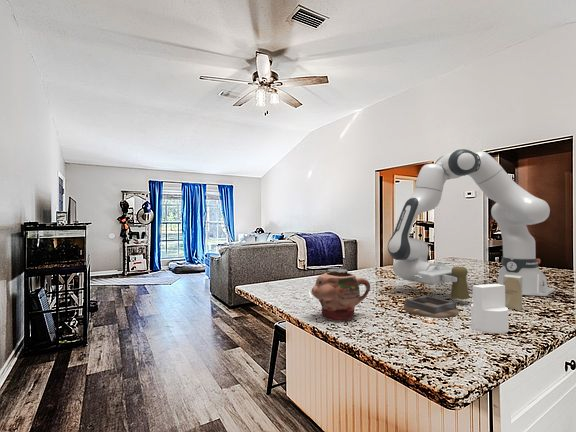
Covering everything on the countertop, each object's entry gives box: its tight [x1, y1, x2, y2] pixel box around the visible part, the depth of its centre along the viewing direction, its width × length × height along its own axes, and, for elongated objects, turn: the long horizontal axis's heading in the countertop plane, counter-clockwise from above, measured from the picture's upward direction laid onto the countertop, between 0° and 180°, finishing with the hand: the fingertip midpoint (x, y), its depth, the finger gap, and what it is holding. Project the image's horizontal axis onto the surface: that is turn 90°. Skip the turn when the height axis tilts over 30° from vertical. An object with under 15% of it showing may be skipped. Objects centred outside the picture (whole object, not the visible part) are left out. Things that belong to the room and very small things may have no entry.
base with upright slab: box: [470, 283, 510, 334], centre depth 91 cm, size 9×9×12 cm
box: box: [503, 275, 523, 311], centre depth 110 cm, size 5×4×11 cm
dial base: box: [403, 295, 460, 319], centre depth 109 cm, size 17×17×3 cm
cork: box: [450, 266, 470, 300], centre depth 117 cm, size 6×6×11 cm
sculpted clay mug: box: [311, 271, 371, 322], centre depth 103 cm, size 20×12×14 cm, turn 110°
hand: (461, 278), depth 116 cm, fingers closed on cork, 4 cm apart
